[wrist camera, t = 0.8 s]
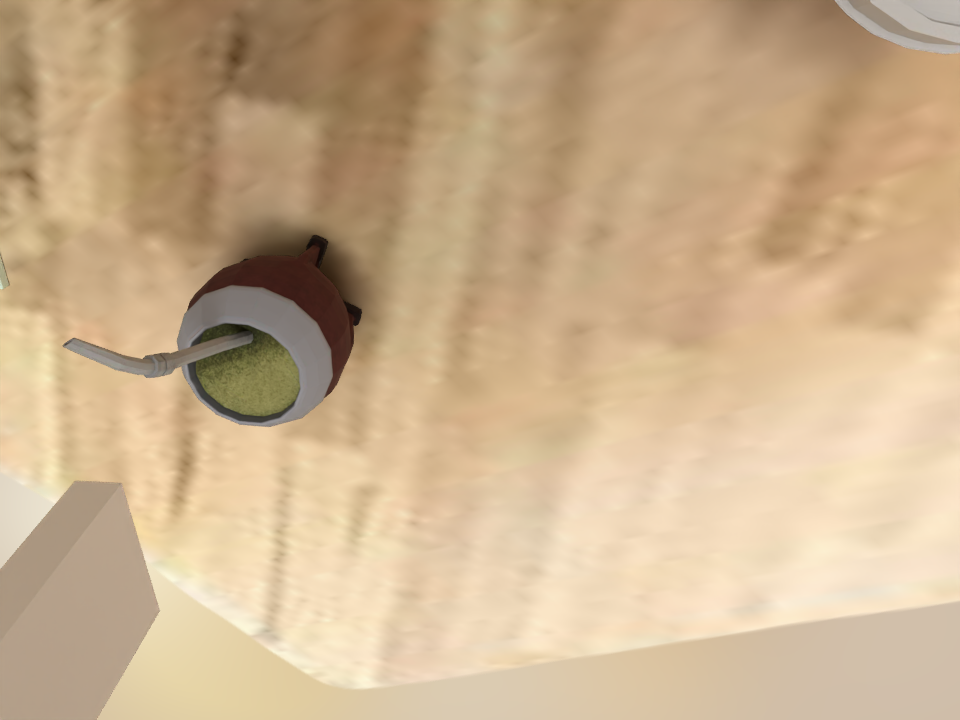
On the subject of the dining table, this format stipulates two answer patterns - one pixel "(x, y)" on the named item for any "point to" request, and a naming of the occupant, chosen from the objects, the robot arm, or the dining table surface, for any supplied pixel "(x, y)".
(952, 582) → the dining table surface
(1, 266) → the mat
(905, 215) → the dining table surface
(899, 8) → the disposable coffee cup
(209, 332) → the mate gourd
